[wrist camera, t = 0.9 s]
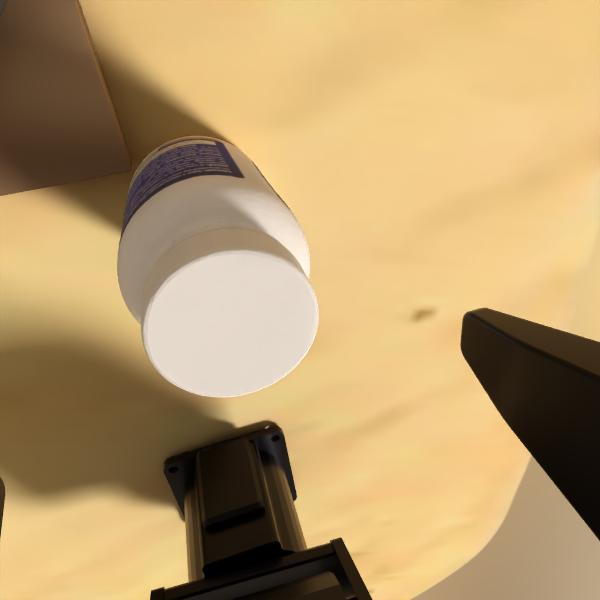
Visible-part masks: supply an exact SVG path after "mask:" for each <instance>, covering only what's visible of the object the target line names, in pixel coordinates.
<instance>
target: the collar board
mask: <svg viewBox="0 0 600 600" xmlns="http://www.w3.org/2000/svg"><path fill="white" fill-rule="evenodd" d="M131 167H132V162H131V159H130V156H129V153H128V150H127V147H126V143H125V140H124V137H123V134H122V131H121V128H120V125H119V122H118V119H117V116H116V113H115V110H114V107H113V104H112V101H111V98H110V94H109V91H108V88H107V85H106V82H105V79H104V76H103V73H102V70H101V67H100V64H99V61H98V58H97V55H96V52H95V49H94V45H93V42H92V39H91V36H90V33H89V30H88V27H87V24H86V21H85V18H84V15H83V12H82V9H81V6H80V3H79V0H0V196H3V195H8V194H13V193H18V192H24V191H29V190H34V189H39V188H44V187H50V186H55V185H60V184H65V183H70V182H76V181H81V180H86V179H91V178H96V177H102V176H107V175H112V174H117V173H122V172H128V171H131Z"/></svg>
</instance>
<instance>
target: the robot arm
mask: <svg viewBox="0 0 600 600" xmlns="http://www.w3.org/2000/svg"><path fill="white" fill-rule="evenodd" d="M461 351H462V354H463V356H464V358H465V360H466V361H467V363H468V364H469V366H470V367H471V369H472V371H473V372H474V374H475V375H476V377H477V378H478V380H479V382H480V383H481V385H482V386H483V388H484V390H485V391H486V393H487V394H488V396H489V397H490V399H491V401H492V402H493V404H494V405H495V407H496V408H497V410H498V411H499V413H500V414H501V416H502V417H503V419H504V420H505V421H506V423H507V424H508V425H509V427H510V428H511V429H512V430H513V432H514V433H515V434H516V436H517V437H518V438H519V439H520V441H521V442H522V443H523V444H524V446H525V447H526V448H527V449H528V451H529V452H530V453H531V454H532V456H533V457H534V458H535V459H536V461H537V462H538V463H539V464H540V466H541V467H542V468H543V470H544V471H545V472H546V473H547V475H548V476H549V477H550V478H551V480H552V481H553V482H554V484H555V485H556V486H557V487H558V489H559V490H560V491H561V492H562V494H563V495H564V496H565V498H566V499H567V500H568V501H569V503H570V504H571V505H572V506H573V507H574V509H575V510H576V511H577V512H578V514H579V515H580V516H581V518H582V519H583V520H584V521H585V523H586V524H587V525H588V527H589V528H590V529H591V530H592V532H593V533H594V534H595V535H596V537H597V538H598V539H599V541H600V342H597V341H594V340H591V339H587V338H584V337H581V336H578V335H574V334H571V333H568V332H564V331H561V330H558V329H554V328H551V327H548V326H544V325H541V324H538V323H535V322H531V321H528V320H525V319H521V318H518V317H515V316H511V315H508V314H505V313H501V312H498V311H495V310H492V309H488V308H480V309H476V310H473V311H469V312H467V313H465V315H464V317H463V321H462V333H461ZM274 435H276V436H274ZM173 466H175V467H173ZM164 474H165V476H166V478H167V480H168V483H169V485H170V487H171V489H172V491H173V493H174V496H175V498H176V500H177V502H178V504H179V506H180V509H181V511H182V513H183V515H184V517H185V525H186V543H187V561H188V579H189V582H188V583H185V584H181V585H178V586H174V587H171V588H167V589H165V588H164V587H162V588H158V589H155V590H151V596H150V600H372V598H371V596H370V594H369V592H368V590H367V588H366V586H365V584H364V582H363V580H362V578H361V576H360V574H359V572H358V570H357V568H356V566H355V564H354V562H353V560H352V558H351V556H350V554H349V552H348V550H347V548H346V546H345V544H344V542H343V540H342V538H337V539H333V540H330V543H327V544H323V545H320V546H316V547H313V548H309V549H307V546H306V543H305V539H304V536H303V532H302V529H301V526H300V522H299V519H298V515H297V512H296V508H295V505H294V501H295V500H296V498H297V495H296V490H295V485H294V480H293V476H292V471H291V466H290V461H289V457H288V452H287V447H286V442H285V438H284V434H283V431H282V429H281V428H280V427H277V426H274V427H270V428H267V429H263V430H260V431H257V432H253V433H250V434H247V435H244V436H240V437H237V438H234V439H230V440H227V441H224V442H220V443H217V444H214V445H210V446H207V447H204V448H200V449H197V450H194V451H191V452H187V453H184V454H181V455H177V456H174V457H171V458H169V459H167V460H166V461H165V462H164ZM4 500H5V486H4V483H3V480H2V479H1V477H0V536H1V527H2V518H3V509H4Z"/></svg>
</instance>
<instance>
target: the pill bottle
mask: <svg viewBox="0 0 600 600" xmlns="http://www.w3.org/2000/svg"><path fill="white" fill-rule="evenodd" d="M117 272H118V281H119V286H120V290H121V293H122V296H123V299H124V301H125V303H126V305H127V307H128V309H129V310H130V312H131V313H132V315H133V316H134V318H135V319H136V320H137V321H138V322H139V323H140V324H141V333H142V340H143V345H144V348H145V351H146V354H147V356H148V358H149V359H150V361H151V363H152V365H153V366H154V367H155V368H156V370H157V371H158V372H159V373H160V374H161V375H162V376H163V377H164V378H165V379H167V380H168V381H169V382H171V383H172V384H174V385H175V386H177V387H179V388H181V389H183V390H185V391H188V392H191V393H194V394H197V395H200V396H210V397H235V396H241V395H246V394H249V393H253V392H256V391H259V390H261V389H264V388H266V387H268V386H270V385H272V384H274V383H276V382H277V381H279V380H281V379H282V378H283V377H285V376H286V375H287V374H289V373H290V372H291V371H292V370H293V369H294V368H295V367H296V366H297V365H298V364H299V363H300V361H301V360H302V359H303V358H304V356H305V355H306V354H307V352H308V350H309V349H310V346H311V345H312V343H313V340H314V338H315V335H316V331H317V327H318V319H319V314H318V303H317V298H316V295H315V292H314V289H313V287H312V285H311V283H310V281H309V274H310V255H309V249H308V244H307V240H306V237H305V235H304V232H303V230H302V228H301V226H300V224H299V223H298V221H297V219H296V218H295V216H294V214H293V213H292V212H291V210H290V209H289V207H288V206H287V205H286V204H285V202H284V201H283V200H282V199H281V198H280V196H279V195H278V194H277V193H276V192H275V191H274V189H273V188H272V187H271V185H270V184H269V183H268V181H267V180H266V179H265V177H264V176H263V175H262V173H261V172H260V171H259V169H258V168H257V167H256V165H255V164H254V163H253V162H252V161H251V160H250V159H249V158H248V157H247V156H246V155H245V154H244V153H243V152H242V151H240V150H239V149H238V148H236V147H235V146H233V145H231V144H229V143H227V142H225V141H222V140H220V139H217V138H213V137H207V136H186V137H180V138H176V139H173V140H170V141H168V142H166V143H164V144H162V145H160V146H159V147H157V148H156V149H154V150H153V151H152V152H151V153H149V154H148V155H147V156H146V157H145V158H144V160H143V161H142V162H141V163H140V165H139V166H138V168H137V169H136V171H135V173H134V175H133V177H132V180H131V183H130V187H129V191H128V196H127V202H126V208H125V215H124V220H123V227H122V233H121V239H120V243H119V251H118V262H117Z"/></svg>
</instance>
